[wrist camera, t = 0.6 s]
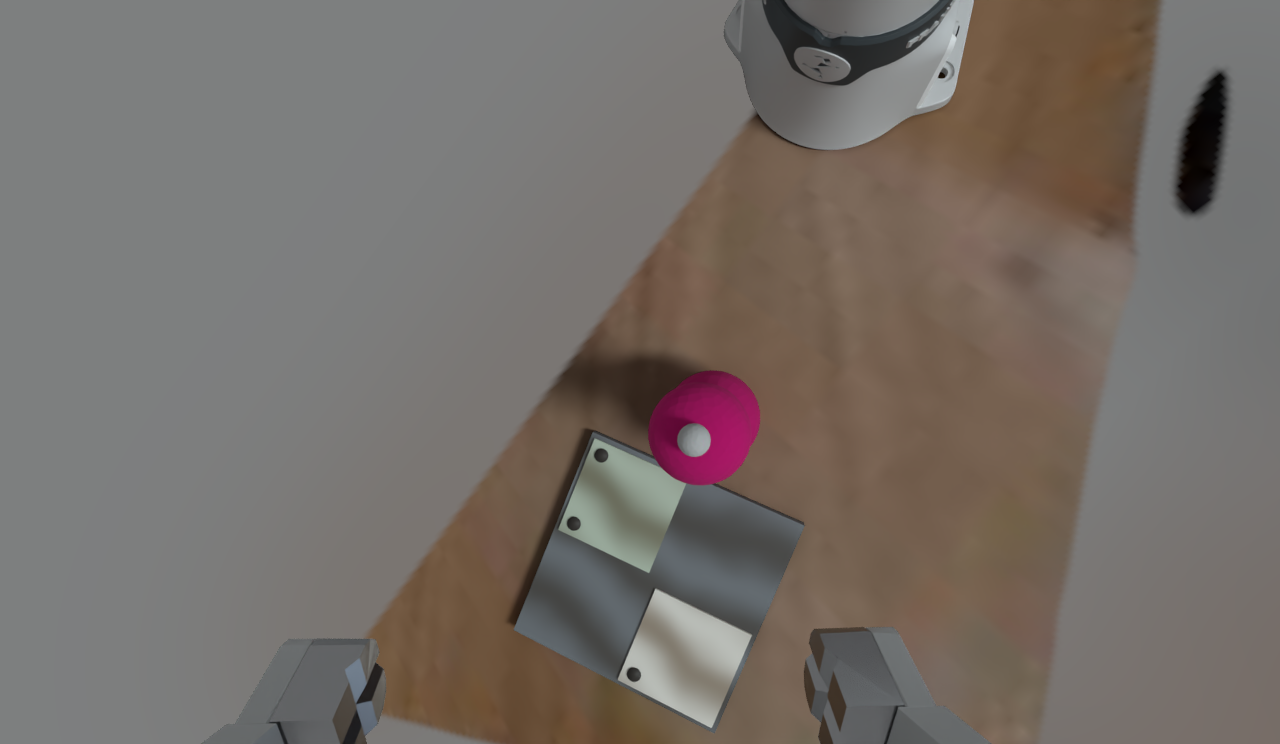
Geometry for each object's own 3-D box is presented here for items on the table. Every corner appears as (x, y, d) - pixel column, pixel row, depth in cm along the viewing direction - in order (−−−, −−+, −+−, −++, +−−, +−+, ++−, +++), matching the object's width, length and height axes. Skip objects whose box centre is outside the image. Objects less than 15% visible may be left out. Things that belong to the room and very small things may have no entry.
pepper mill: (656, 405, 52) (596, 429, 32) (722, 352, 51) (703, 343, 31) (708, 473, 51) (681, 539, 32) (777, 420, 50) (793, 455, 30)
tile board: (595, 430, 53) (591, 432, 52) (803, 522, 50) (804, 526, 49) (517, 625, 54) (512, 631, 53) (715, 726, 51) (714, 735, 50)
